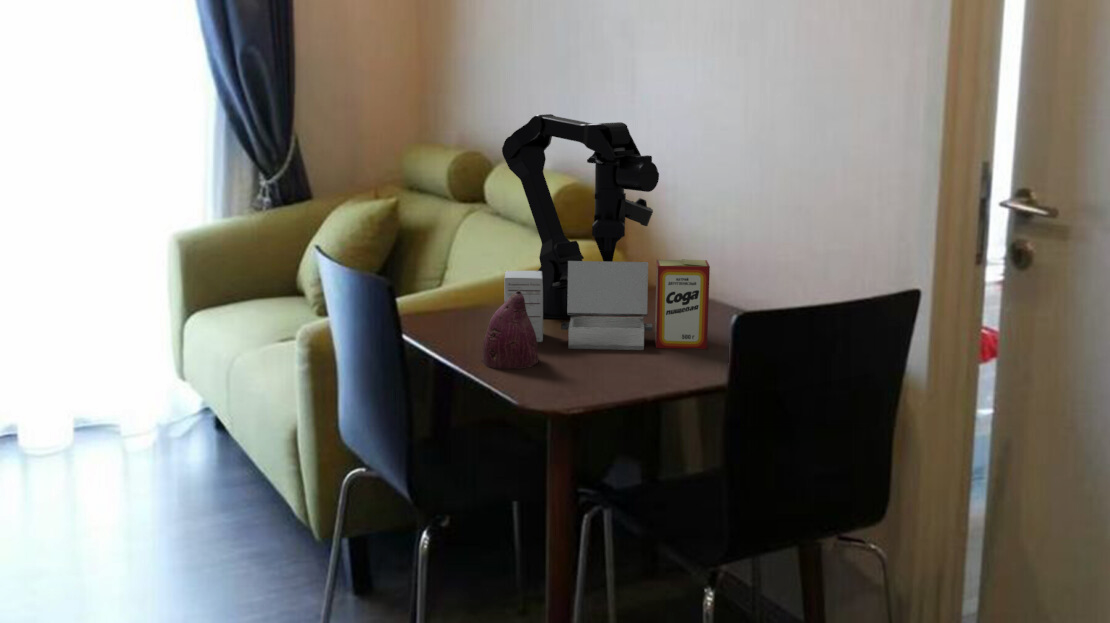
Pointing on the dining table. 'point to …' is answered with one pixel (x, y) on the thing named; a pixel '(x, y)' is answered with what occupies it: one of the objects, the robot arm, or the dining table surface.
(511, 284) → the supplement box
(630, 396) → the dining table surface
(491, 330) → the vegetable
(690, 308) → the baking soda box
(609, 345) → the white rectangular box
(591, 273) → the lid
